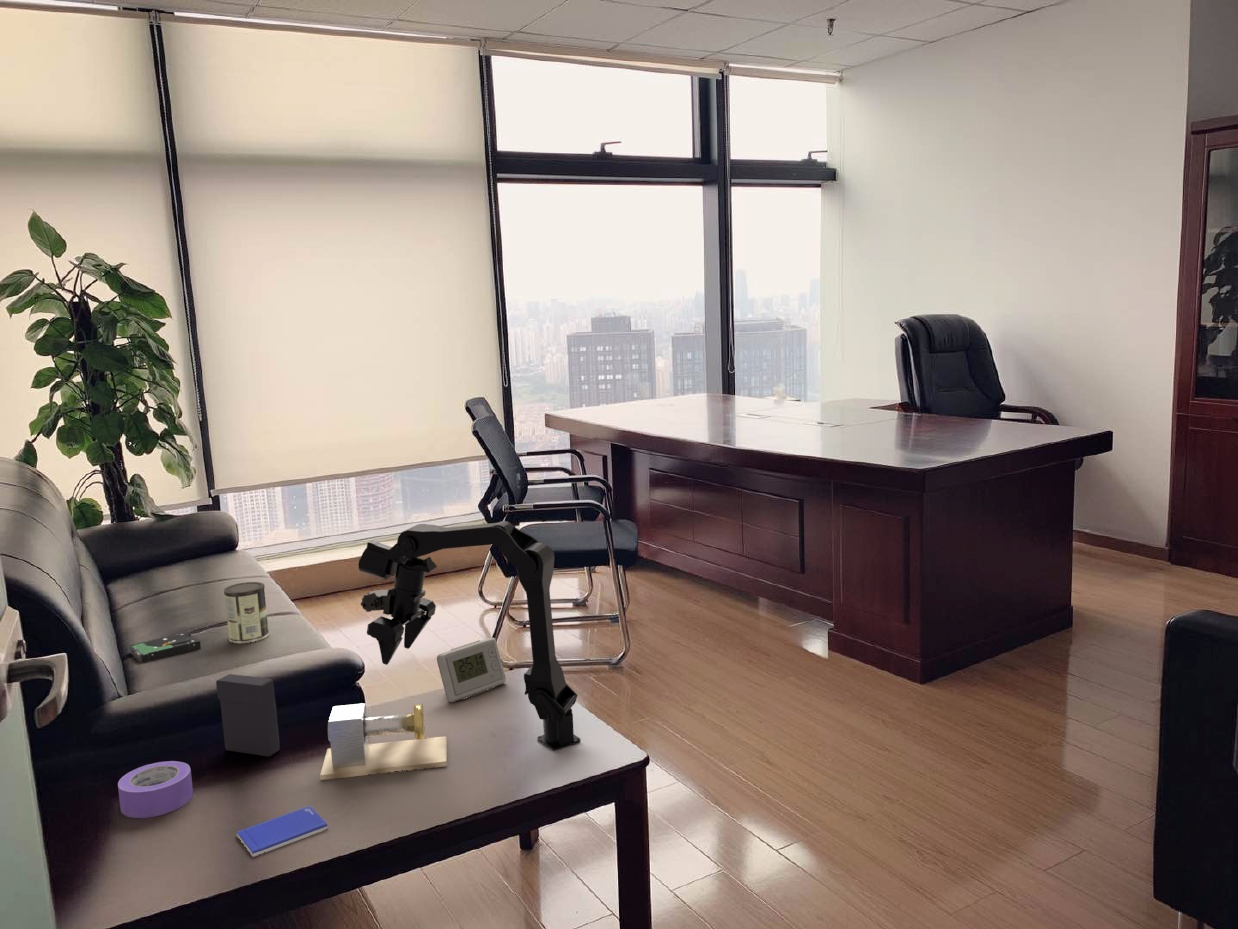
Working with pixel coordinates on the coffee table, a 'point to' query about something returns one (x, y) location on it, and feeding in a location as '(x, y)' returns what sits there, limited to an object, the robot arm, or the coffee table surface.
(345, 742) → the bearing block
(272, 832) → the hard drive
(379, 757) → the board
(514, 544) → the robot arm
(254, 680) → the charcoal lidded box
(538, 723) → the coffee table surface
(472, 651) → the digital clock
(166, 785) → the tape roll
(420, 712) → the shaft
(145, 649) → the disk drive
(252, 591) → the coffee can
